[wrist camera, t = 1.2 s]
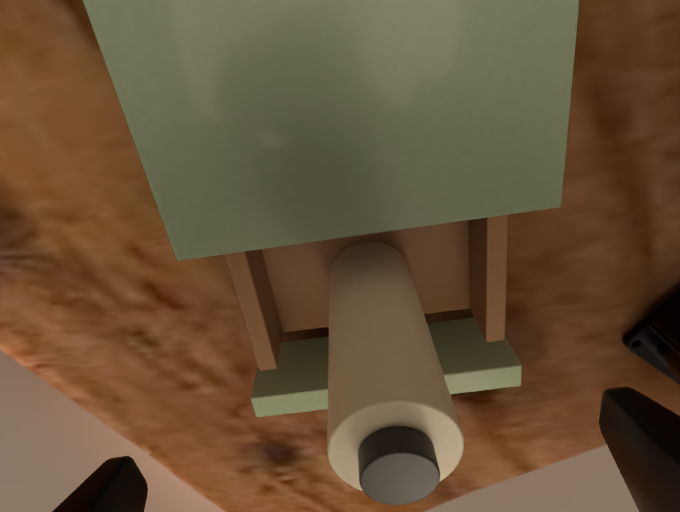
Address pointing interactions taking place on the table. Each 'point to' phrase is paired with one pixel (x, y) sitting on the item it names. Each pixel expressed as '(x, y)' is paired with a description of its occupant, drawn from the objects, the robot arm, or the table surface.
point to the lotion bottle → (385, 382)
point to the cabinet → (339, 113)
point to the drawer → (434, 295)
